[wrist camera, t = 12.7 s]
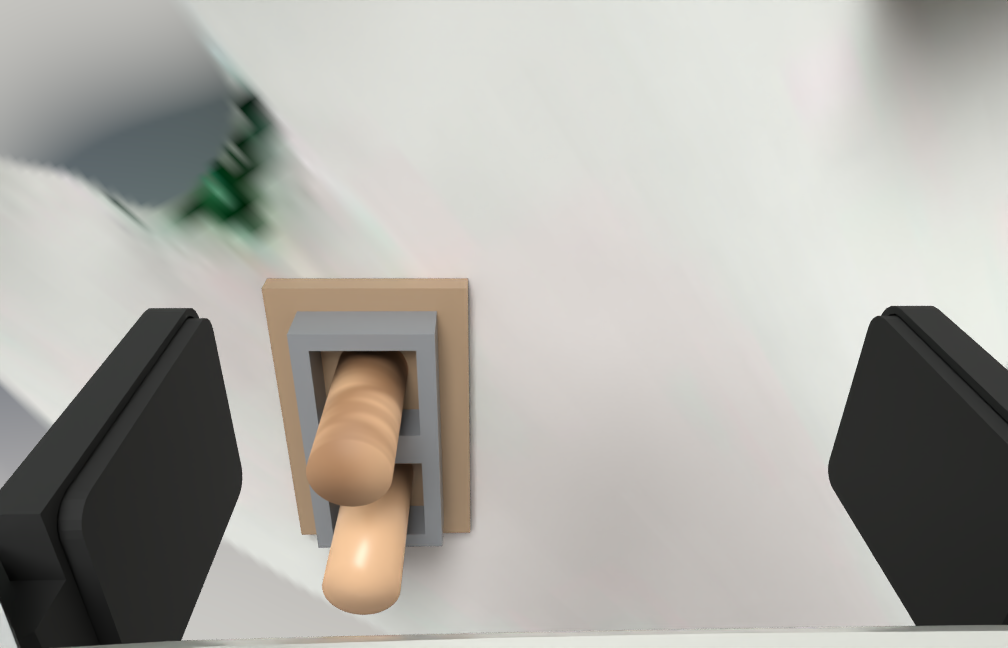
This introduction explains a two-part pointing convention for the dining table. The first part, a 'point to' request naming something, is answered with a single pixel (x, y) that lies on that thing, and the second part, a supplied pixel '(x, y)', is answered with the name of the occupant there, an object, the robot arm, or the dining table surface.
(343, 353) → the switch lever
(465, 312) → the housing
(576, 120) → the dining table surface
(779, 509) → the dining table surface
